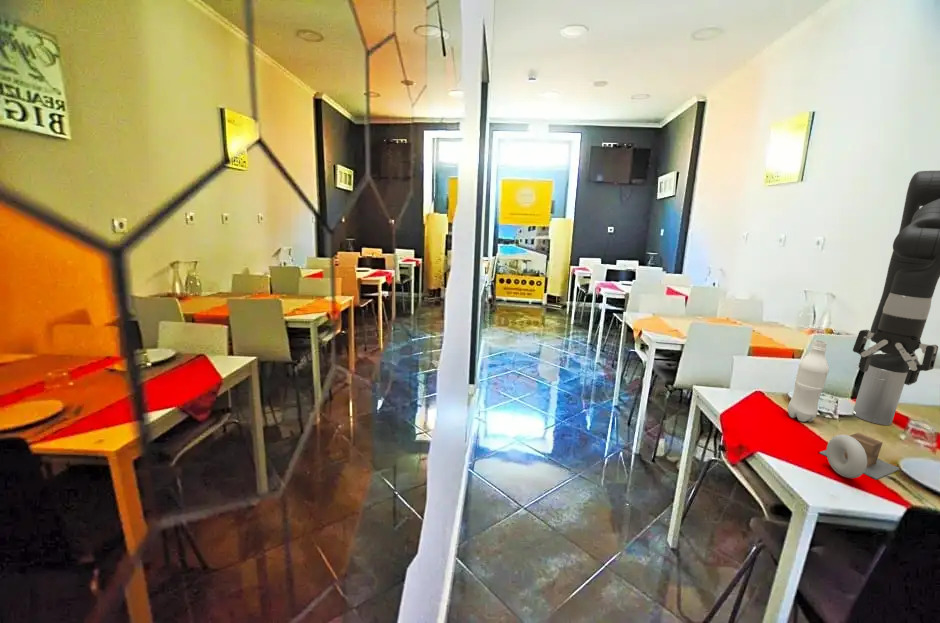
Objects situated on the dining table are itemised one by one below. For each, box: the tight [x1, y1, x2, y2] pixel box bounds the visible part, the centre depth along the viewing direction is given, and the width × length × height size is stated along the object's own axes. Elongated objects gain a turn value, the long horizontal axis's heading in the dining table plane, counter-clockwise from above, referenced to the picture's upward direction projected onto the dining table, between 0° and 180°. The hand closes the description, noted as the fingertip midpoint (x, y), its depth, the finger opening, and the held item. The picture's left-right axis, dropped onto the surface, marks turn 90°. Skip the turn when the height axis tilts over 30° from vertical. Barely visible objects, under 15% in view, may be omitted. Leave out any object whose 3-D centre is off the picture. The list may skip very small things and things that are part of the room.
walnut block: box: [844, 432, 884, 467], centre depth 108 cm, size 5×5×6 cm
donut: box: [826, 434, 867, 479], centre depth 101 cm, size 10×4×10 cm, turn 174°
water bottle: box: [787, 339, 830, 423], centre depth 129 cm, size 7×7×25 cm
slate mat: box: [819, 449, 901, 480], centre depth 109 cm, size 12×12×1 cm
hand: (884, 377), depth 104 cm, fingers open, 8 cm apart
